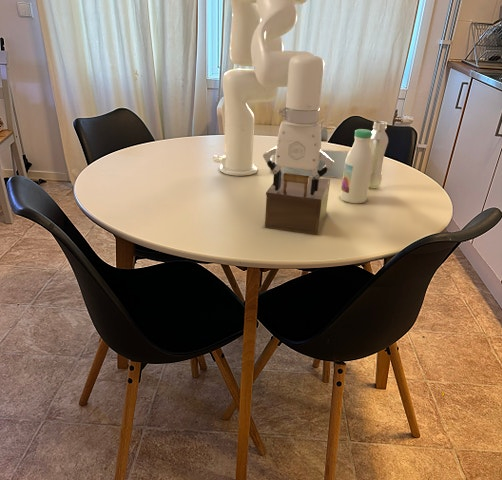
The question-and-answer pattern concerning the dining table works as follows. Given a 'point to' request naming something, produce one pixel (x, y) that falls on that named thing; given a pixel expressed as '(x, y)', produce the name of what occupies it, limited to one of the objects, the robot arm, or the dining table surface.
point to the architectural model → (334, 170)
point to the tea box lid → (299, 188)
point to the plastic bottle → (377, 152)
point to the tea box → (295, 214)
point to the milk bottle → (357, 169)
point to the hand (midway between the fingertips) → (295, 190)
